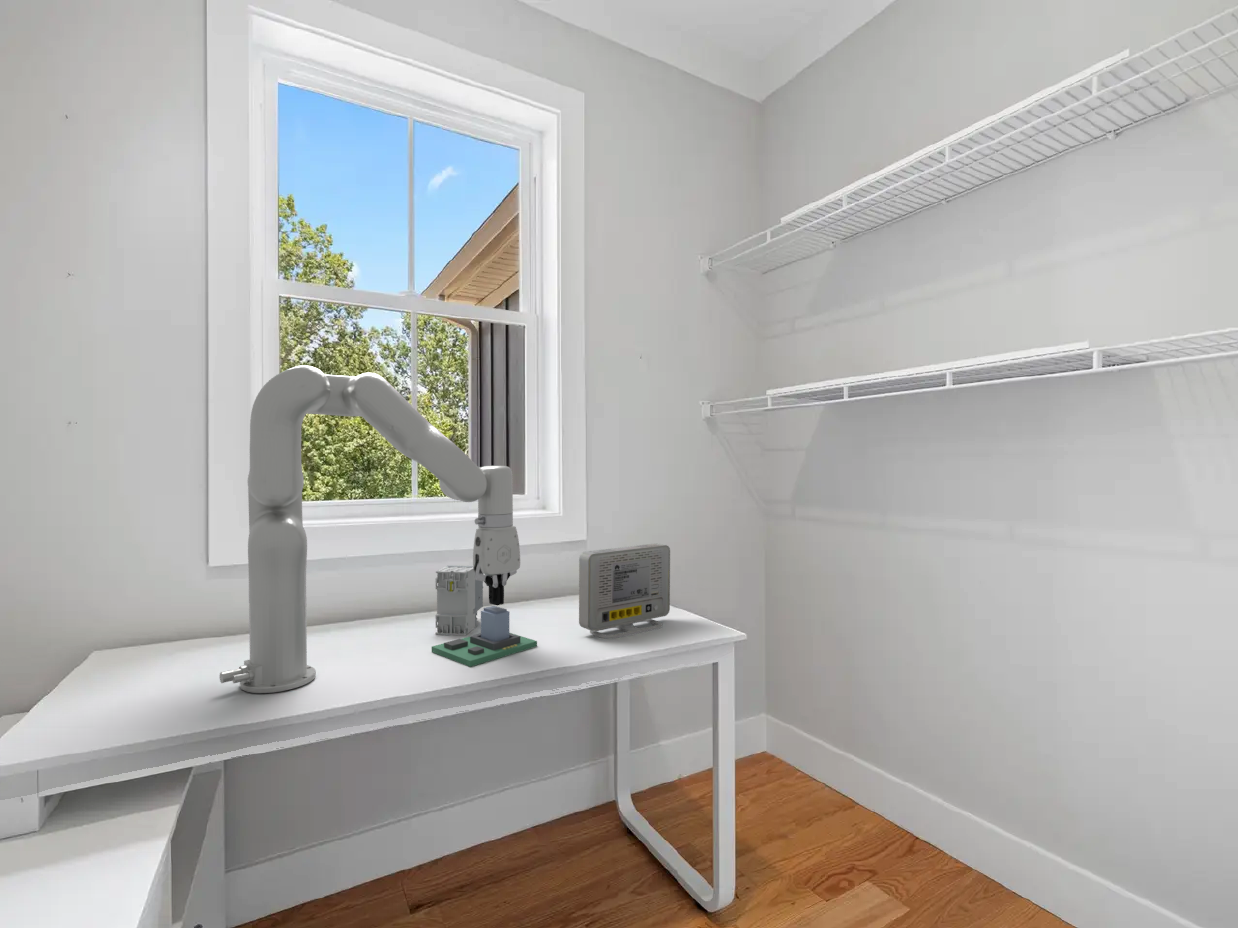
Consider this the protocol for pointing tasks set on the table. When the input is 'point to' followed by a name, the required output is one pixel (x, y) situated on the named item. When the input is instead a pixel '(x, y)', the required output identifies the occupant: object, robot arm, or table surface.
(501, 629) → the plug
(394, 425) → the robot arm
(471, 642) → the board
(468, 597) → the circuit breaker
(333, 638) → the table surface
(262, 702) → the table surface
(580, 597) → the network device
